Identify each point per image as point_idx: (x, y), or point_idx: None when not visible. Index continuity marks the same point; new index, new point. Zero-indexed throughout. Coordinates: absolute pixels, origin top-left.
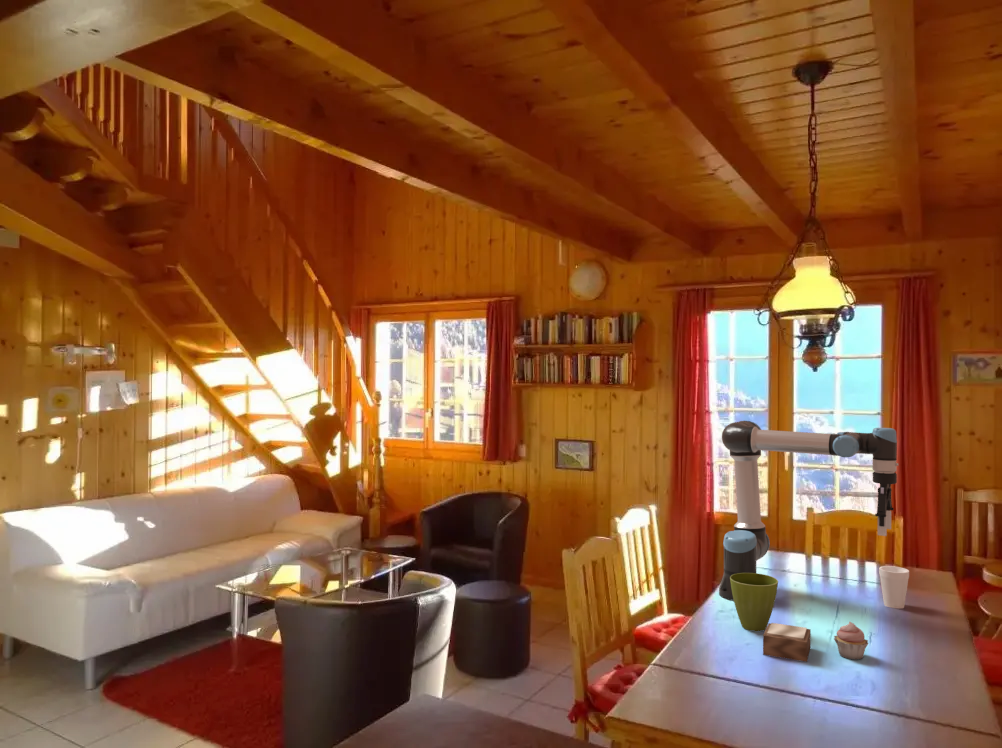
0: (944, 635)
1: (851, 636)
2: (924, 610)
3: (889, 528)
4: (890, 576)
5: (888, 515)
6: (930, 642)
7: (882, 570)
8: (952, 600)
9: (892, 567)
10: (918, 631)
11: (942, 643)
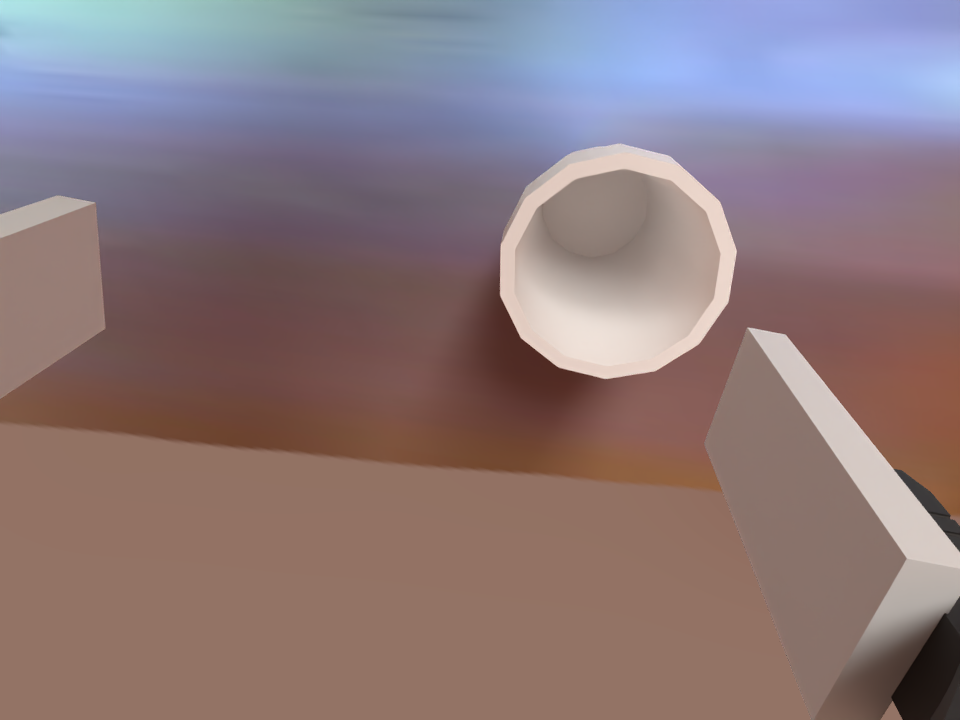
0: (174, 376)
1: None
2: None
3: (714, 429)
4: (507, 227)
5: (794, 579)
6: None
7: (552, 175)
8: None
9: (715, 268)
10: (165, 276)
11: None
